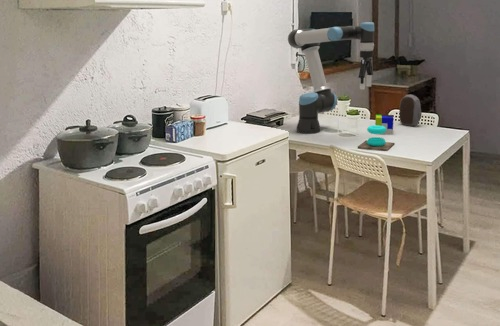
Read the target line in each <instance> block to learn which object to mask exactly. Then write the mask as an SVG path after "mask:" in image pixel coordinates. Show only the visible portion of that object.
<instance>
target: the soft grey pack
mask: <svg viewBox="0 0 500 326" xmlns="http://www.w3.org/2000/svg"><path fill="white" fill-rule="evenodd" d="M421 105H422V104H421V101H420V99H419V97H417V96H416V95H415V94H406V95H405V96H403V97H402V98H401V99H400V102H399V112H398V113H399V121H400V124H402V125H403V126H404V125H405V126H418V125H419V123H420V121H421V118H422V115H423V114H422V106H421Z"/></svg>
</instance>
